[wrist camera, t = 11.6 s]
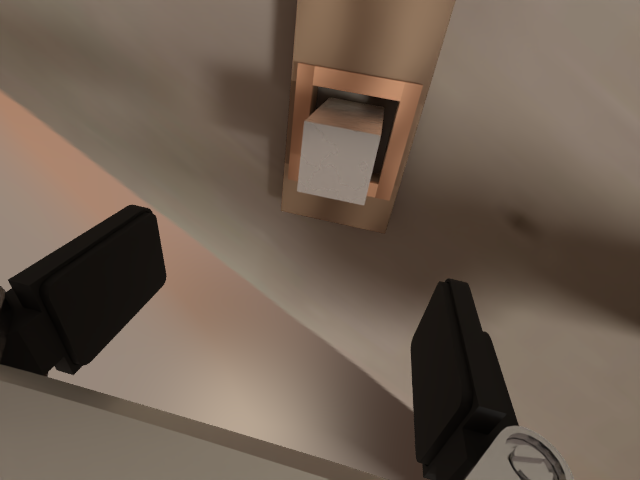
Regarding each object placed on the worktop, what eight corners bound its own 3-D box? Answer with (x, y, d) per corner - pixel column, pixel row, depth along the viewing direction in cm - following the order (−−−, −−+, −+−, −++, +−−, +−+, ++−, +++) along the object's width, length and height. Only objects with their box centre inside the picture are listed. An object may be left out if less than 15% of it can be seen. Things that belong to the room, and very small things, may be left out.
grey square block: (384, 107, 25) (380, 135, 18) (372, 161, 28) (364, 205, 20) (330, 97, 26) (304, 120, 18) (322, 151, 28) (296, 191, 21)
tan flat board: (554, -345, 14) (580, -408, 12) (385, 223, 31) (384, 235, 29) (336, -358, 15) (327, -419, 13) (286, 201, 32) (279, 212, 30)
